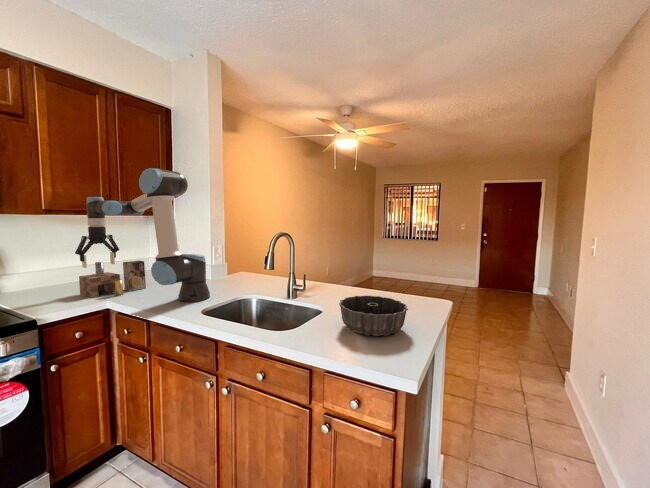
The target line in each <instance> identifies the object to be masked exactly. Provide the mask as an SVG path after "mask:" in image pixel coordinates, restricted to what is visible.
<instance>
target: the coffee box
mask: <svg viewBox="0 0 650 488" xmlns="http://www.w3.org/2000/svg"><path fill="white" fill-rule="evenodd" d="M122 267H123V271H122V272H123V282H124V283H123V286H124V290H125V291H127V292H133V291H137V290H143V289H147V288H146V287H147V283H146V270H145V269H146V267H145V261H143V260H131V261H130V260H129V261H123V262H122Z"/></svg>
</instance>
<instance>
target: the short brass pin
mask: <svg viewBox="0 0 650 488" xmlns="http://www.w3.org/2000/svg"><path fill="white" fill-rule="evenodd" d="M114 282H115V293H114V296H115V297H122V296H124V287H123V286H124V283H123V282H124V279H120V280H115V281H114ZM121 295H122V296H121Z"/></svg>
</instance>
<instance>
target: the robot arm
mask: <svg viewBox="0 0 650 488" xmlns="http://www.w3.org/2000/svg"><path fill="white" fill-rule="evenodd" d="M188 186H189V184H188V180H187V178H186V177H185V176H184V175H183V174H182V173H180V172H178V171H175V170H168V169H162V168H158V167H157V168H152V167H149V168H146V169H144V170H143V171H142V173H141V174H140V176H139V180H138V187H139V189H140V190H141V192H142V193H143V194H142V195H139V196H137V197H136V198H134V199H132V200H130V201H127V200H126V201H124V200H122V201H121V200H104V199H105V198H104V197H102V196H88V197H86V203H85V204H86V215H87V216H86V218H87V226H88V227H87V231H88V232H87V233H88V235H82V236H81V237H80V238H81V239H80V242H79V244H78V246H77V247H76V250H75V252H74V254H75V255H78V256H79V261H80V262H82V263H81V266H82V268H83V269H87V268H88V267H87V266H88V264H87V255H86V253H87V252H88V251H89V250H90V248H92V246H93V245H97V244H98V245H99V244H102V245H104V246H105V247H106V248H107V249H109V251H110V252H109V257H110V258H109V259H110V261H109V262H110V264H111V265H115V263H116V262H115V261H116V260H115V258H117V254H116V253H117V252H119V251H120V248H119V247H118V244H117V243H116V242H115V240H114V237H113V234H106V233H107V231H106V229H107V228H106V216H110V217H111V216H113V217H114V216H134V217H135V216H141V215H143V214H144V213H145V211H147V210H148V209H150V208H152V215H153V222H154V223H153V224H154V229H155V237H156V244H157V251H158V253H157V255H156V256H155V257H154V258H155V261H154V262H153V263H152V265H151V268H150V272H151V276H152V278H153V279H154V281H155V282H157V284H159V285H161V286H169V285H170V286H171V285H175V284H177V283H181V285H180V289H179V293H178V299H177V300H178V301H180V302H184V303H195V302H201V301H205V300H208V299H210V298H211V293H210V290H209V287H208V285H207V270H206V269H207V265H206V263H207V261H206V257H205V255H203V254H195V253H193V254H192V253H191V254H190V253H182V252H181V251H179V244H178V243H179V242H178V237H177V230H176V220H175V214H174V207H173V200H174V199H178V198H179V197H181V196H183V195H184V194H185V193H186V191H187V190H188ZM106 239H108V241H109V242H108V241H107V240H106ZM88 240H89V241H88ZM87 241H88V242H87ZM86 243H87V244H86Z"/></svg>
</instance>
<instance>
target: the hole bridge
mask: <svg viewBox="0 0 650 488" xmlns="http://www.w3.org/2000/svg"><path fill="white" fill-rule="evenodd" d="M78 280H79V281H78V282H79V295H80V296H83V297H86V298H91V299H94V298H99V295H100V294H98V285H103V284H105V292H107V293H114V294H115V282H114V281H115V280H121V275H120V274H119V273H114V272H109V271H107V272H105V271H104V276H98V277H97V276H96V273H92V274H86V275H79V276H78Z"/></svg>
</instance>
